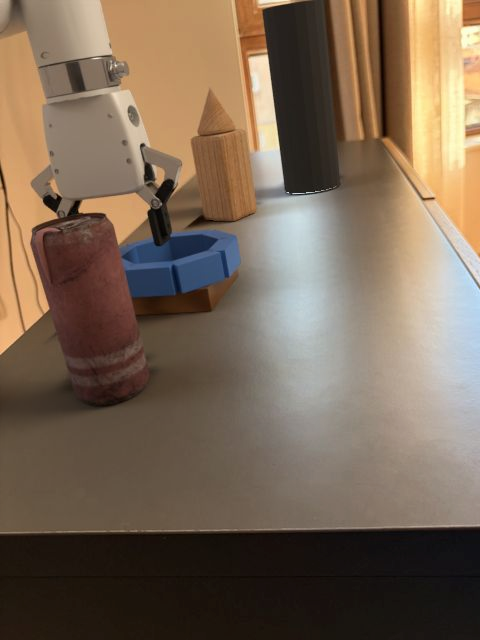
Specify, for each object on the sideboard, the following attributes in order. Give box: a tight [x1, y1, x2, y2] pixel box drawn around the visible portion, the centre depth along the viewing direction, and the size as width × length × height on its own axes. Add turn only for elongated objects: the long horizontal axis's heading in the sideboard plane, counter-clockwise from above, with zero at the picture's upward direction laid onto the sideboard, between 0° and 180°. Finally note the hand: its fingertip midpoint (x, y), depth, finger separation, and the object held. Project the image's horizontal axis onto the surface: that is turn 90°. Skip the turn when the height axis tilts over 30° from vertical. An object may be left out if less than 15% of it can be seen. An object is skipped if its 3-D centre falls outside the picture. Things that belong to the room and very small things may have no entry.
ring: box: [119, 229, 242, 298], centre depth 70 cm, size 14×14×3 cm
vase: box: [261, 0, 341, 193], centre depth 111 cm, size 10×10×30 cm
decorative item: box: [190, 87, 258, 222], centre depth 101 cm, size 7×7×20 cm
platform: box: [131, 268, 239, 316], centre depth 71 cm, size 11×11×2 cm
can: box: [29, 212, 151, 407], centre depth 49 cm, size 6×6×14 cm
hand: (123, 246), depth 71 cm, fingers open, 9 cm apart
